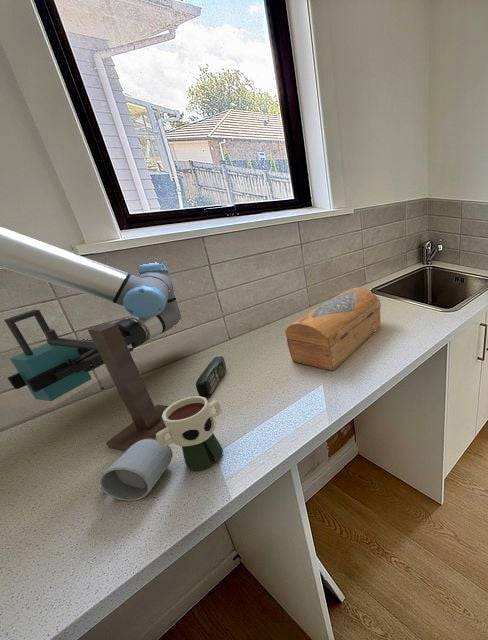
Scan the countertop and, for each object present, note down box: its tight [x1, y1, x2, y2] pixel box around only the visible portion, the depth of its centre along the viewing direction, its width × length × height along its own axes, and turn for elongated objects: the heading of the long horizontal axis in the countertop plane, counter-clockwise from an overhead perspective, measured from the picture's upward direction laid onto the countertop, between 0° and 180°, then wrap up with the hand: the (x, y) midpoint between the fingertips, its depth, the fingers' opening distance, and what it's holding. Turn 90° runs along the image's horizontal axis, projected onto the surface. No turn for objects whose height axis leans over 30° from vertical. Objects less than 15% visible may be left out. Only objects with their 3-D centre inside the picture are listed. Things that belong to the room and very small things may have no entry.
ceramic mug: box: [98, 438, 174, 502], centre depth 60 cm, size 11×8×8 cm
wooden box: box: [285, 287, 381, 371], centre depth 106 cm, size 30×16×14 cm, turn 159°
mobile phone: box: [195, 356, 227, 399], centre depth 88 cm, size 5×3×15 cm
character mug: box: [155, 395, 224, 471], centre depth 64 cm, size 11×7×13 cm, turn 149°
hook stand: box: [43, 322, 169, 452], centre depth 69 cm, size 18×12×26 cm
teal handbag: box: [3, 309, 93, 402], centre depth 69 cm, size 4×8×18 cm, turn 170°
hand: (22, 384), depth 66 cm, fingers closed on teal handbag, 4 cm apart
